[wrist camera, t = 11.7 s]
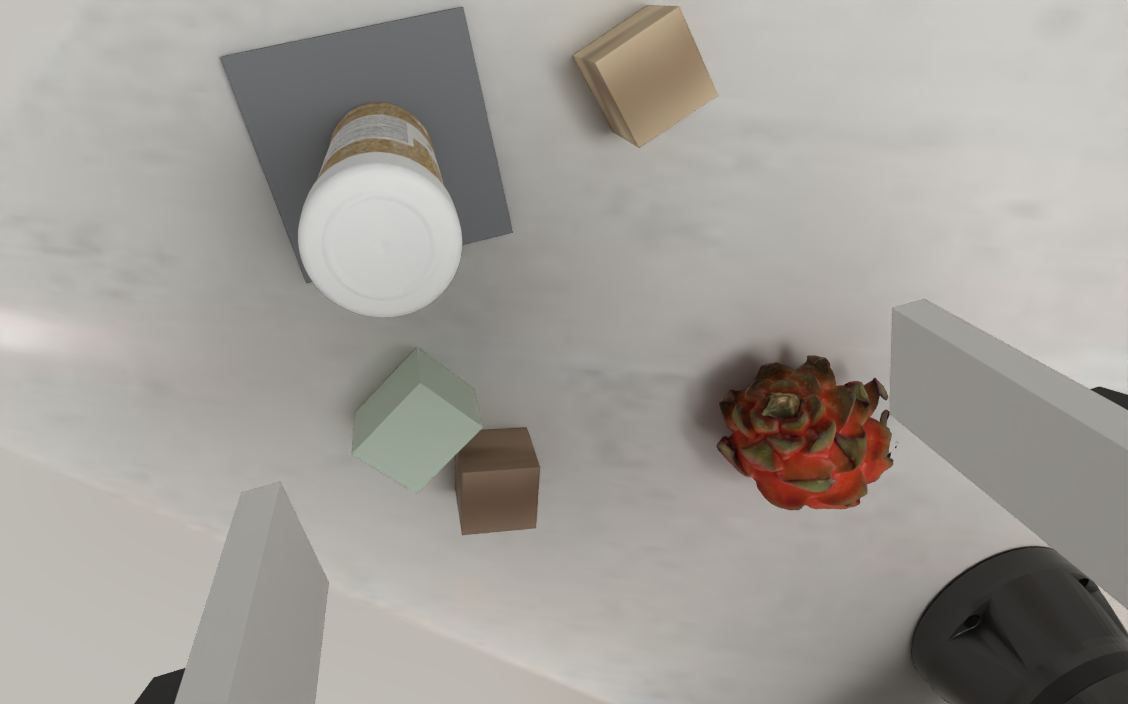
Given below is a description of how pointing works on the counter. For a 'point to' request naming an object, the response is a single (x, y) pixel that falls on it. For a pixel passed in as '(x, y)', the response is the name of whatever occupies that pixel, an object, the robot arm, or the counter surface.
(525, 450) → the walnut block
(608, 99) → the oak block
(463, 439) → the sage painted block
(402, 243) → the sprinkles bottle
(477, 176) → the slate mat
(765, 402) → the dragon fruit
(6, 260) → the counter surface
